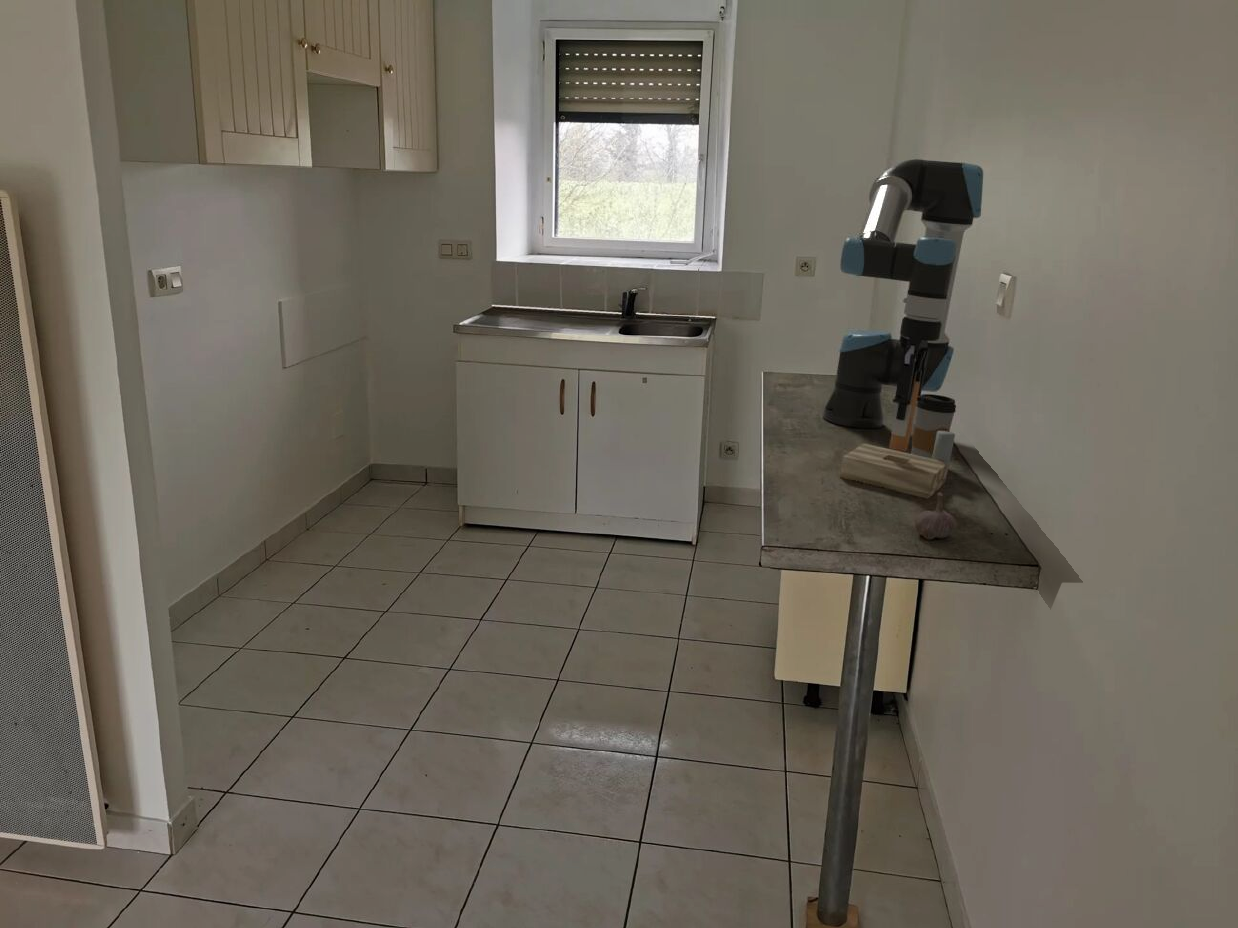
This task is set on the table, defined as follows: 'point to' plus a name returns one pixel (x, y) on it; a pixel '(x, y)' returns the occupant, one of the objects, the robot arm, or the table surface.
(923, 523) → the garlic bulb
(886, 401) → the table surface
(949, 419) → the coffee cup
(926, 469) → the bore block
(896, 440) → the tapered brown peg
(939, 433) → the grey dowel
